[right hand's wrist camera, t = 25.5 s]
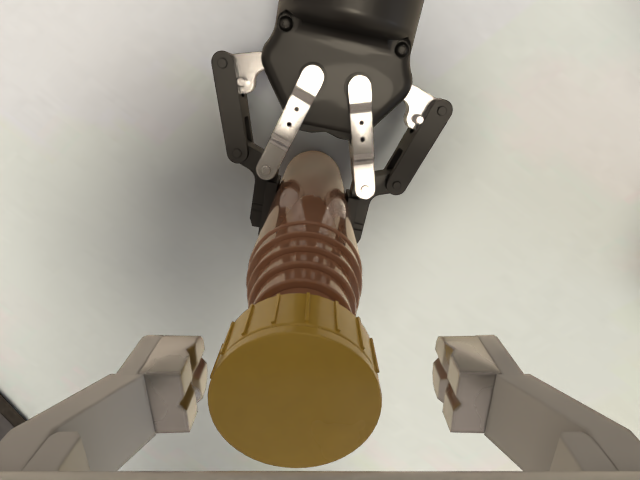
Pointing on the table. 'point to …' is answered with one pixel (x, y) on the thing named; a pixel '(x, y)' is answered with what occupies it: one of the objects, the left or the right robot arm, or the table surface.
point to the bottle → (307, 238)
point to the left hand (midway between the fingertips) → (303, 239)
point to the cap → (296, 382)
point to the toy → (8, 417)
